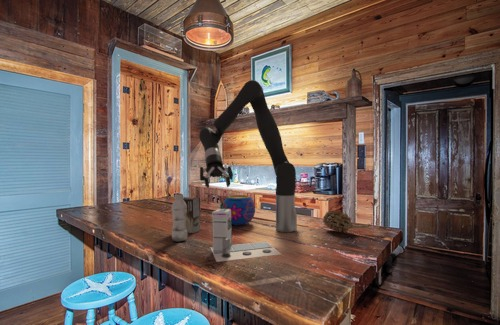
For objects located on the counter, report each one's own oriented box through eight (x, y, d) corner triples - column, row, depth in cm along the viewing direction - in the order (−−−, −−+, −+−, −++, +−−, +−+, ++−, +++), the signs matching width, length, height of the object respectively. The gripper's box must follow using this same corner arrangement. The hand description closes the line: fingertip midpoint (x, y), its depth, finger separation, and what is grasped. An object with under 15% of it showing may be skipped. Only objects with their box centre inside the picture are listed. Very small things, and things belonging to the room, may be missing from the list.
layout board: (266, 243, 106) (266, 240, 106) (281, 256, 92) (281, 253, 92) (210, 249, 99) (210, 246, 99) (216, 264, 85) (216, 261, 85)
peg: (229, 254, 92) (229, 237, 92) (230, 257, 89) (230, 239, 89) (221, 255, 91) (221, 238, 91) (223, 257, 88) (223, 240, 88)
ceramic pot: (236, 219, 151) (235, 193, 151) (261, 223, 141) (261, 195, 140) (215, 225, 137) (215, 197, 137) (242, 230, 126) (241, 199, 126)
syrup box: (228, 251, 94) (227, 211, 94) (212, 250, 95) (212, 211, 95) (232, 246, 99) (231, 208, 99) (217, 245, 100) (216, 208, 100)
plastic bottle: (190, 239, 113) (190, 193, 113) (181, 244, 106) (181, 195, 106) (177, 238, 115) (177, 192, 115) (168, 242, 109) (167, 194, 108)
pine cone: (319, 231, 123) (319, 210, 123) (326, 227, 131) (326, 207, 131) (370, 239, 111) (369, 216, 111) (374, 234, 119) (374, 212, 118)
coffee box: (201, 230, 128) (200, 197, 128) (193, 233, 122) (193, 199, 122) (185, 228, 131) (185, 196, 131) (177, 231, 125) (177, 198, 125)
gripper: (198, 153, 116) (202, 181, 106) (229, 153, 121) (236, 179, 110) (197, 165, 122) (200, 192, 111) (227, 164, 126) (233, 190, 115)
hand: (218, 186), depth 110 cm, fingers open, 8 cm apart
